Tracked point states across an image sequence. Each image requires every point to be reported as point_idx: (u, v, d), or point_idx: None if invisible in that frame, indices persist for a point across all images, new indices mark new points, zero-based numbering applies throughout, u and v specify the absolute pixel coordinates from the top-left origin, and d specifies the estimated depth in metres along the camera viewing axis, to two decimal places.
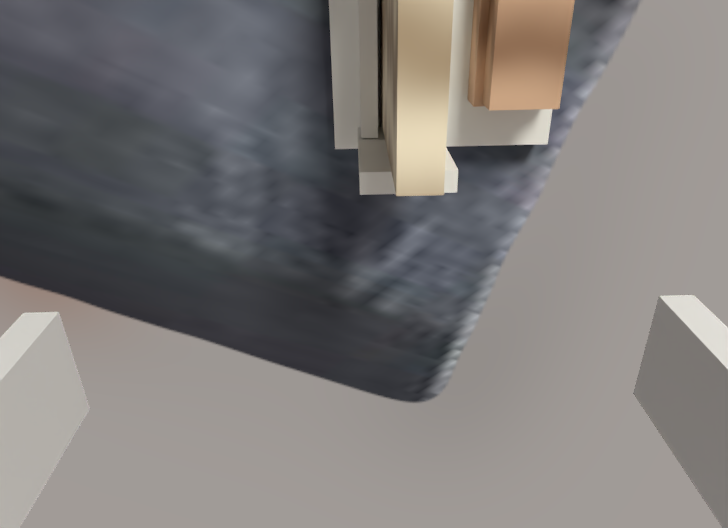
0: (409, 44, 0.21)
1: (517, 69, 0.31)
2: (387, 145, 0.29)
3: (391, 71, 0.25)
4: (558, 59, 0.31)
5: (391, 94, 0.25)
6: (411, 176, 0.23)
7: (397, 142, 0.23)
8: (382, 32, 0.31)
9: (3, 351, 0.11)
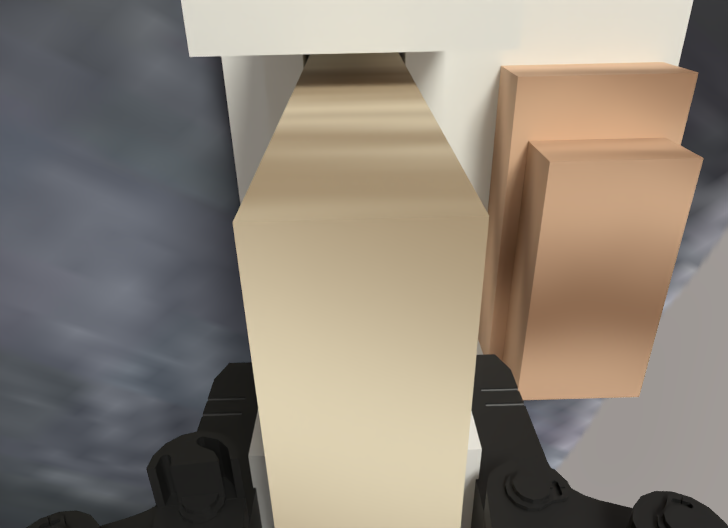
0: None
1: (568, 343, 0.17)
2: None
3: None
4: (643, 328, 0.17)
5: None
6: None
7: None
8: None
9: None
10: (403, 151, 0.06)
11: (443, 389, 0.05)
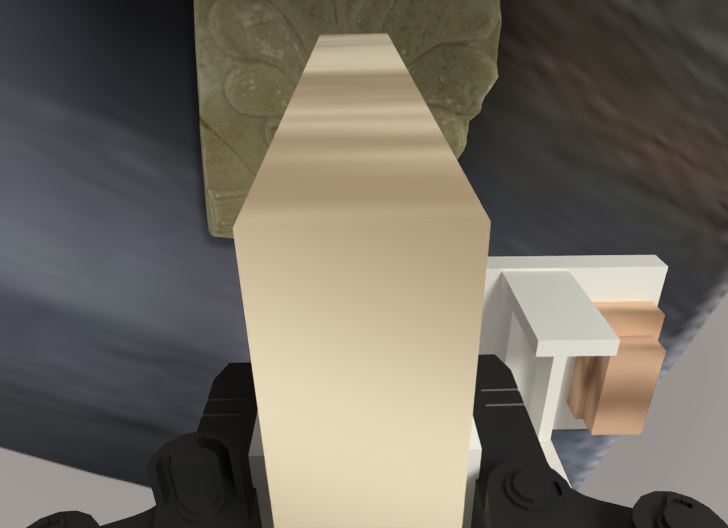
0: None
1: (613, 413, 0.43)
2: None
3: None
4: (643, 407, 0.43)
5: None
6: None
7: None
8: None
9: None
10: (403, 156, 0.06)
11: (444, 394, 0.05)
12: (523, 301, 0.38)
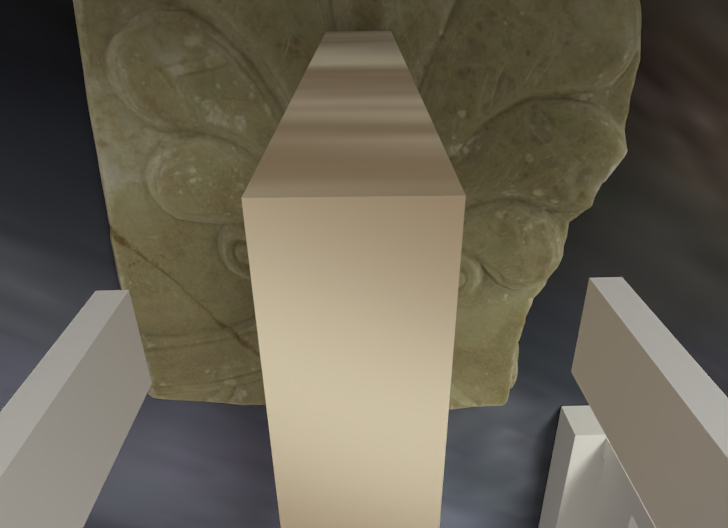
0: None
1: None
2: None
3: None
4: None
5: None
6: None
7: None
8: None
9: (84, 324, 0.12)
10: (395, 140, 0.07)
11: (425, 352, 0.06)
12: None
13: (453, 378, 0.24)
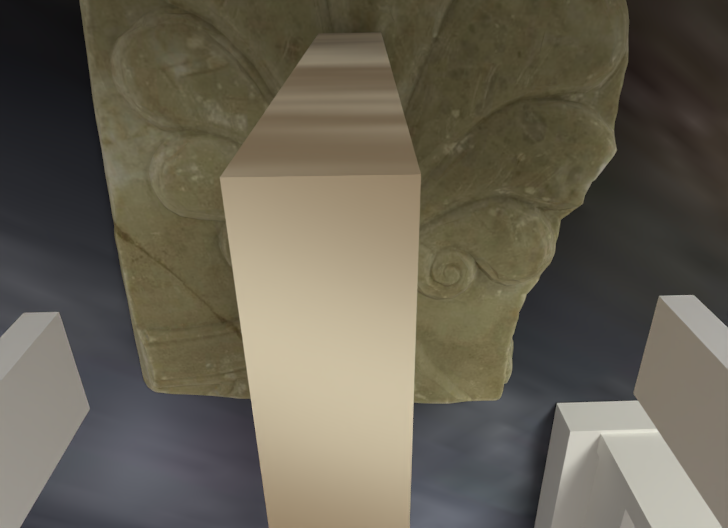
0: None
1: None
2: None
3: None
4: None
5: None
6: None
7: None
8: None
9: (3, 351, 0.11)
10: (367, 129, 0.07)
11: (391, 321, 0.06)
12: (652, 511, 0.23)
13: (448, 373, 0.25)
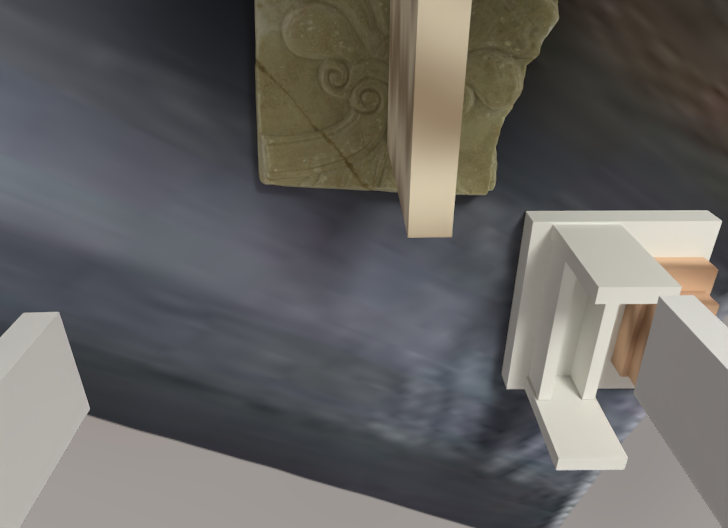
0: (423, 103, 0.23)
1: None
2: (396, 180, 0.31)
3: (404, 119, 0.27)
4: None
5: (403, 139, 0.27)
6: (422, 219, 0.25)
7: (410, 189, 0.25)
8: (392, 70, 0.33)
9: (3, 351, 0.11)
10: None
11: None
12: (579, 251, 0.38)
13: None
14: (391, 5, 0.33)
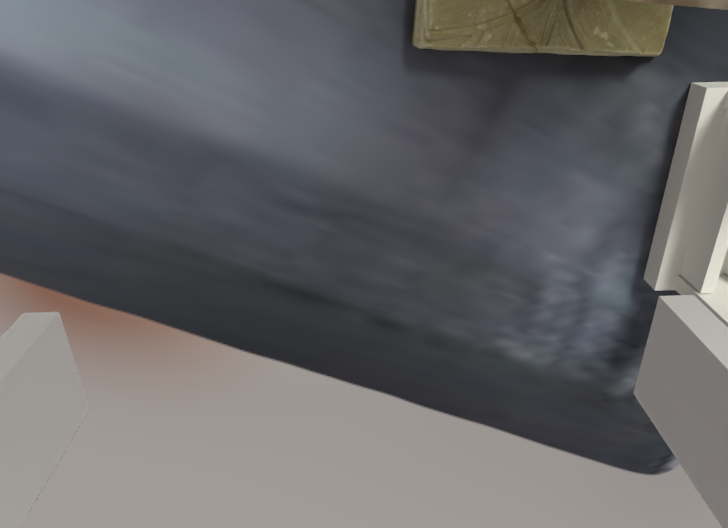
0: None
1: None
2: None
3: None
4: None
5: None
6: None
7: None
8: None
9: (3, 351, 0.11)
10: None
11: None
12: None
13: (629, 28, 0.36)
14: None
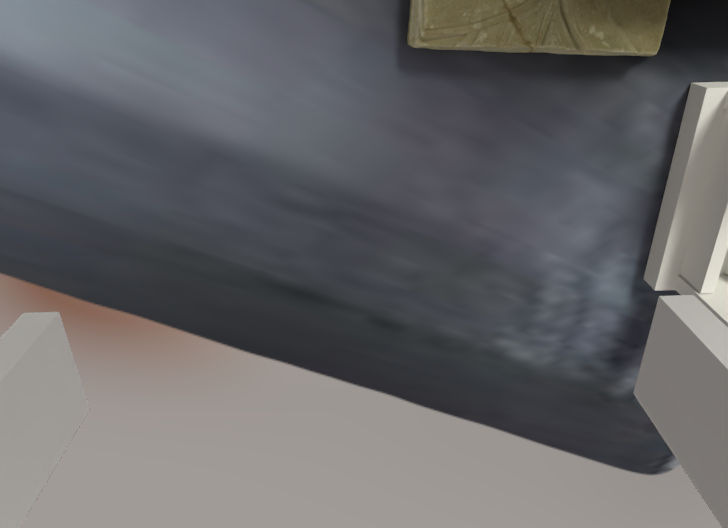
0: None
1: None
2: None
3: None
4: None
5: None
6: None
7: None
8: None
9: (3, 351, 0.11)
10: None
11: None
12: None
13: (625, 28, 0.36)
14: None
